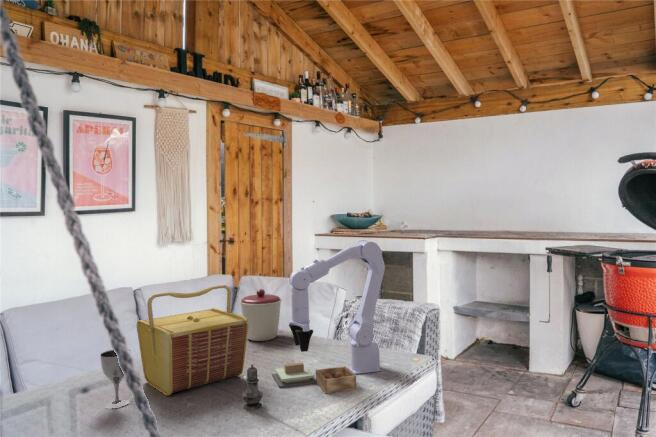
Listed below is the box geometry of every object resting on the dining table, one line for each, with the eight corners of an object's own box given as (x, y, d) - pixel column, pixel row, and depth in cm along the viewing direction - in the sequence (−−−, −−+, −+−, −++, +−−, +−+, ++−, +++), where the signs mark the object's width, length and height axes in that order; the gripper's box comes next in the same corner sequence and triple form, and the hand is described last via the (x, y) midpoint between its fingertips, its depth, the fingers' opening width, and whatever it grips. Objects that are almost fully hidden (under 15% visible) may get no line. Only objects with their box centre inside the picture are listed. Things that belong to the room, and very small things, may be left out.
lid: (305, 370, 169) (305, 358, 168) (314, 380, 159) (313, 367, 158) (275, 374, 165) (275, 361, 165) (281, 384, 156) (281, 371, 155)
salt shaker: (259, 411, 138) (258, 368, 137) (239, 409, 139) (238, 367, 138) (266, 402, 143) (265, 361, 143) (246, 401, 144) (245, 360, 144)
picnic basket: (167, 403, 144) (164, 300, 143) (134, 381, 163) (131, 290, 162) (253, 379, 163) (251, 288, 162) (214, 361, 182) (212, 280, 182)
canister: (291, 338, 213) (290, 288, 212) (256, 346, 200) (255, 294, 200) (266, 330, 226) (265, 284, 225) (232, 338, 214) (230, 289, 213)
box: (345, 378, 162) (345, 366, 162) (356, 389, 153) (356, 376, 152) (315, 382, 159) (315, 369, 159) (325, 393, 150) (324, 380, 149)
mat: (306, 371, 170) (306, 369, 170) (316, 383, 158) (316, 381, 158) (272, 375, 166) (271, 373, 166) (279, 388, 154) (279, 386, 154)
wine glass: (113, 412, 139) (111, 358, 138) (96, 406, 143) (94, 354, 142) (137, 402, 145) (136, 351, 145) (120, 397, 150) (119, 347, 149)
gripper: (283, 304, 170) (284, 343, 171) (293, 312, 156) (294, 355, 157) (303, 302, 172) (304, 341, 173) (315, 310, 159) (316, 353, 159)
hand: (301, 348), depth 165 cm, fingers open, 7 cm apart
